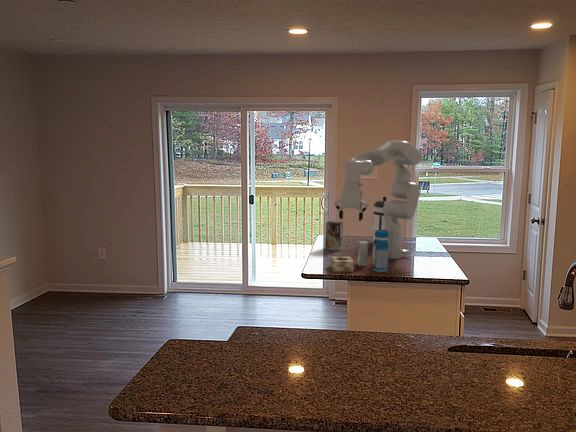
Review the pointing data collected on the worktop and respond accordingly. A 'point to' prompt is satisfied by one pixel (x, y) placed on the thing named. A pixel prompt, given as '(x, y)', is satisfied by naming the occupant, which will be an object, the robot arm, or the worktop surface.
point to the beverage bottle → (380, 251)
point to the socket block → (342, 264)
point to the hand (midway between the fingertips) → (350, 219)
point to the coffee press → (378, 216)
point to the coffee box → (334, 235)
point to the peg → (362, 253)
